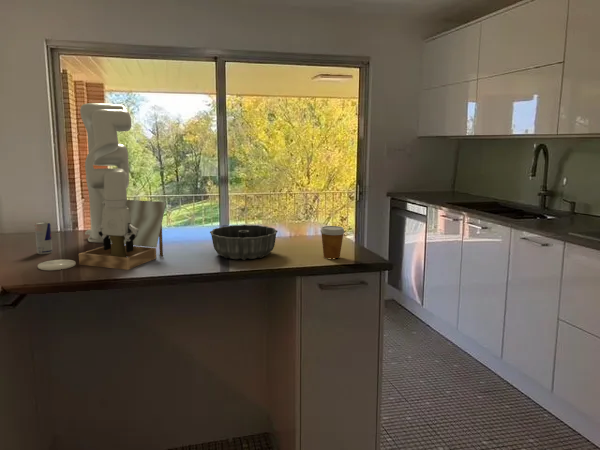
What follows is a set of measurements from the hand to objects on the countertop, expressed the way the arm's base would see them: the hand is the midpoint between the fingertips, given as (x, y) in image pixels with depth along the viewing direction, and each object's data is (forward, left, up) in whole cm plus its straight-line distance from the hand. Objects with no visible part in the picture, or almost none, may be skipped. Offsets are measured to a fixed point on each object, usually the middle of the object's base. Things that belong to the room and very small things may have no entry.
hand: (118, 250), depth 178 cm
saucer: (-16, -13, -4) cm, 21 cm away
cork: (0, 0, -4) cm, 4 cm away
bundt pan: (+39, +26, -5) cm, 47 cm away
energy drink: (-35, +1, -4) cm, 35 cm away
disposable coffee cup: (+73, +34, -5) cm, 81 cm away
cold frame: (0, +4, -4) cm, 6 cm away
